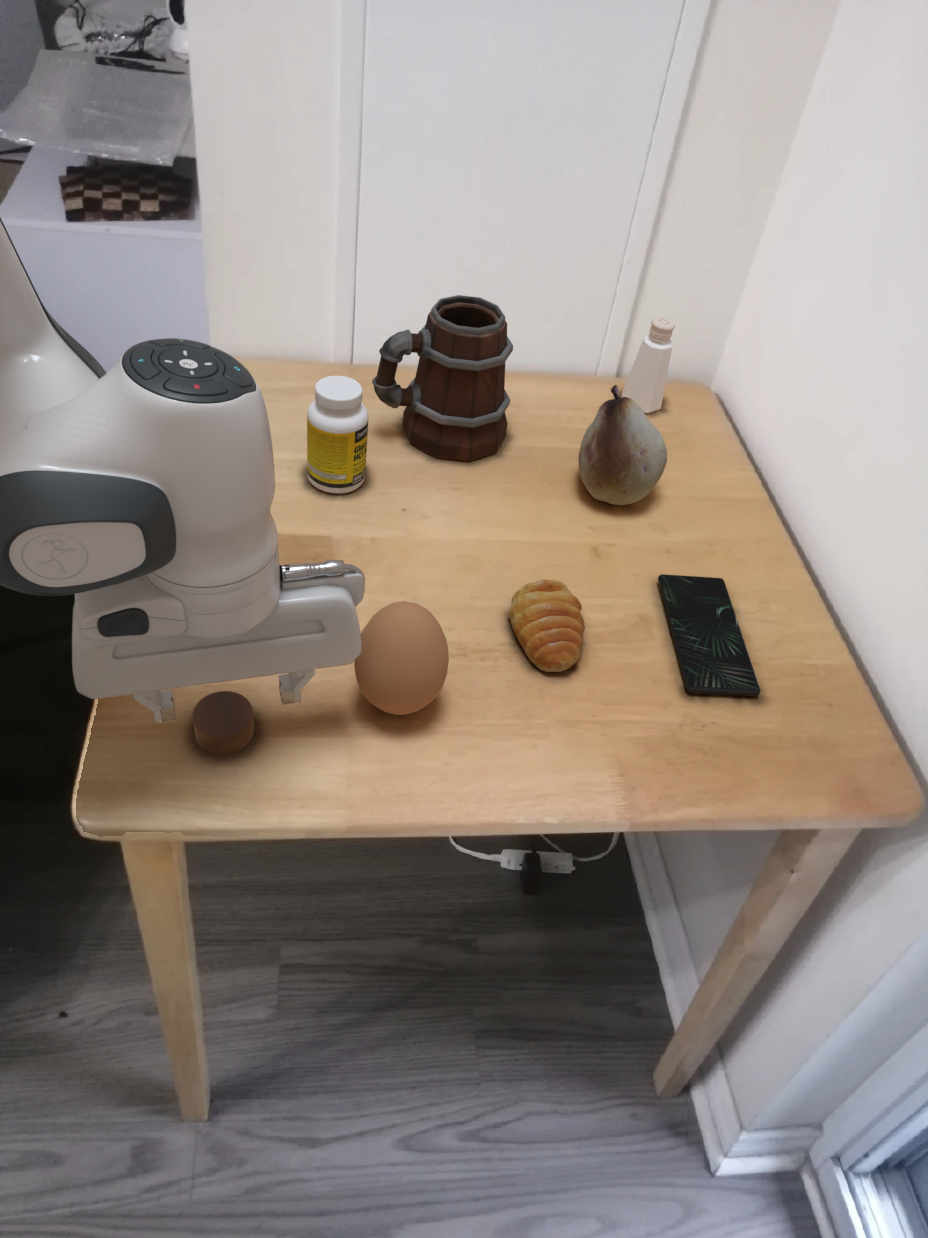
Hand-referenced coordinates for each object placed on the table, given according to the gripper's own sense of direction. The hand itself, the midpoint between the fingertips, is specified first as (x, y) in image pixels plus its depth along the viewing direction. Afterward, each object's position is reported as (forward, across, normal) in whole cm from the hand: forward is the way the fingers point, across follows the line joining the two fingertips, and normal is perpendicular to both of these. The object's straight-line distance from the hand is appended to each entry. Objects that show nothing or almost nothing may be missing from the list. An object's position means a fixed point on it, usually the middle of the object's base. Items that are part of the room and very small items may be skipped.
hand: (228, 706), depth 73 cm
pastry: (+4, -29, -6) cm, 30 cm away
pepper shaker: (+4, -55, -44) cm, 70 cm away
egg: (+4, -14, -1) cm, 14 cm away
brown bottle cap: (+3, 0, 0) cm, 3 cm away
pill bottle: (+4, -14, -32) cm, 36 cm away
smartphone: (+4, -44, -4) cm, 45 cm away
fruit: (+4, -44, -27) cm, 52 cm away
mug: (+4, -27, -40) cm, 48 cm away
